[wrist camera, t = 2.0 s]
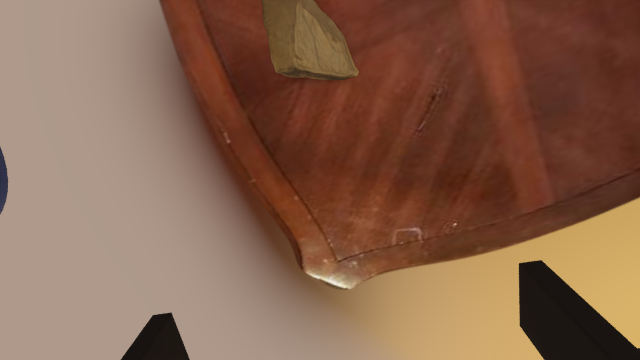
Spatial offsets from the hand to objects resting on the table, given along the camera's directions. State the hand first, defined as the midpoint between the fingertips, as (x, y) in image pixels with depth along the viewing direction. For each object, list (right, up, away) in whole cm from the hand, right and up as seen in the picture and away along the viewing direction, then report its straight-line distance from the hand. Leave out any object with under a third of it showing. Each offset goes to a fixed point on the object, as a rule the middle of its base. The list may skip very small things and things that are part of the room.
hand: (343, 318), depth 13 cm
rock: (-2, +20, +20) cm, 28 cm away
